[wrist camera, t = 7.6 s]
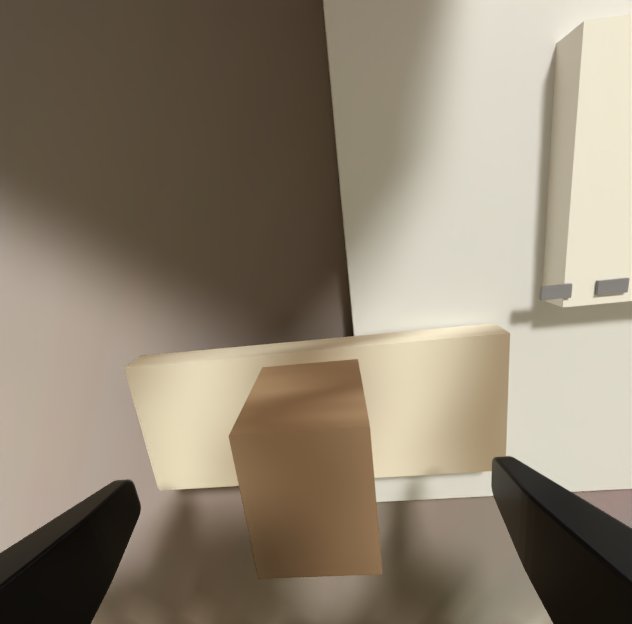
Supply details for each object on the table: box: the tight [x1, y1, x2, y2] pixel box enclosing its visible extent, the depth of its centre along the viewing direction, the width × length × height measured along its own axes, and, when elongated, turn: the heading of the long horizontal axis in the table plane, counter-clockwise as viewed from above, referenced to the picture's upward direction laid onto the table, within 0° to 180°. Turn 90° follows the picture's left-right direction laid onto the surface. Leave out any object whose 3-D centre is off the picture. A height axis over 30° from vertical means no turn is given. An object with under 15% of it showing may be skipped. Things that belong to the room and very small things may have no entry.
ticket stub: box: [124, 323, 510, 579], centre depth 10 cm, size 12×5×4 cm, turn 97°
